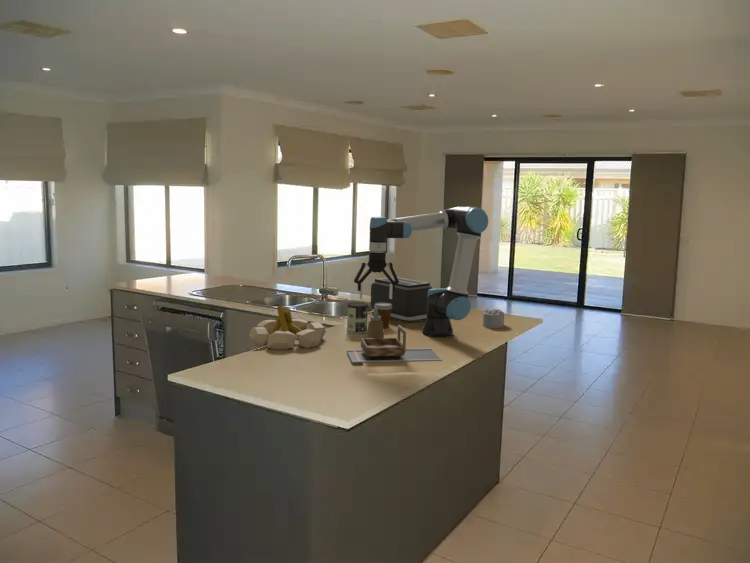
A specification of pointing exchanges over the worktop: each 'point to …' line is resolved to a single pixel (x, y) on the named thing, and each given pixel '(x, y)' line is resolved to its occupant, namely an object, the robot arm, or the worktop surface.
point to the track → (409, 355)
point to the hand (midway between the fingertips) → (375, 298)
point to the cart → (384, 346)
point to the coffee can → (357, 318)
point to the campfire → (287, 332)
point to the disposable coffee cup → (384, 313)
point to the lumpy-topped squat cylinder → (493, 318)
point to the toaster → (402, 298)
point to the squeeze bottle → (375, 326)
